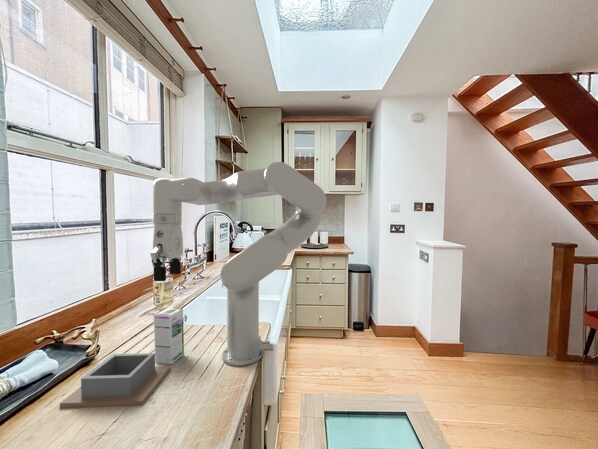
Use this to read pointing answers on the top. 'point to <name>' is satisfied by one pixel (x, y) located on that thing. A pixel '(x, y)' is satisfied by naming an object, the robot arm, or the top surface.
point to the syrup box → (169, 335)
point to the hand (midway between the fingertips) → (168, 277)
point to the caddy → (118, 382)
